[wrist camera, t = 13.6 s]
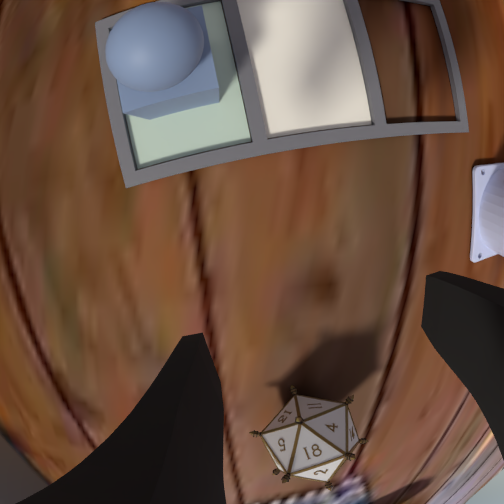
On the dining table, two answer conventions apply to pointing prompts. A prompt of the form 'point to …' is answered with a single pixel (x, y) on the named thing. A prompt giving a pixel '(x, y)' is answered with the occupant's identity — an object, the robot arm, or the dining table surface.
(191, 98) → the pawn
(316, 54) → the game board
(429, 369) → the dining table surface
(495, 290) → the robot arm
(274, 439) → the game die
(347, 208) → the dining table surface
